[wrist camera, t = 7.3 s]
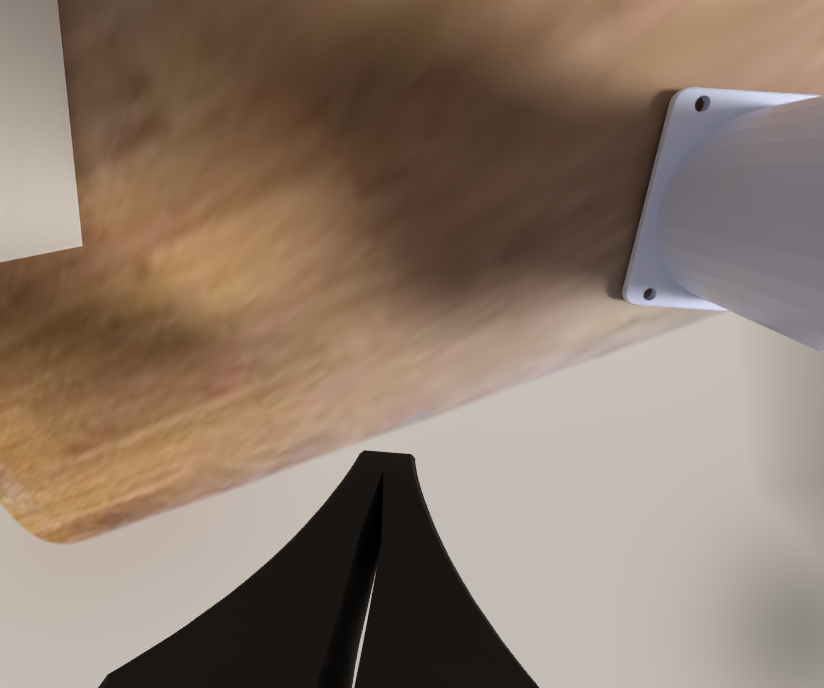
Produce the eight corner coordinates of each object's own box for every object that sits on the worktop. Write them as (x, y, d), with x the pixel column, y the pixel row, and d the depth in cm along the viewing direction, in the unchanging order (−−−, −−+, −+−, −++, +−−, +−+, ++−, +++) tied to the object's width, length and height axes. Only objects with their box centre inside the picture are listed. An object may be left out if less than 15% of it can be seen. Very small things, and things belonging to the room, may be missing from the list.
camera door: (82, 246, 18) (-7, 263, 15) (49, 239, 18) (-48, 255, 15) (52, -44, 15) (-77, -119, 11) (12, -53, 15) (-132, -130, 11)
